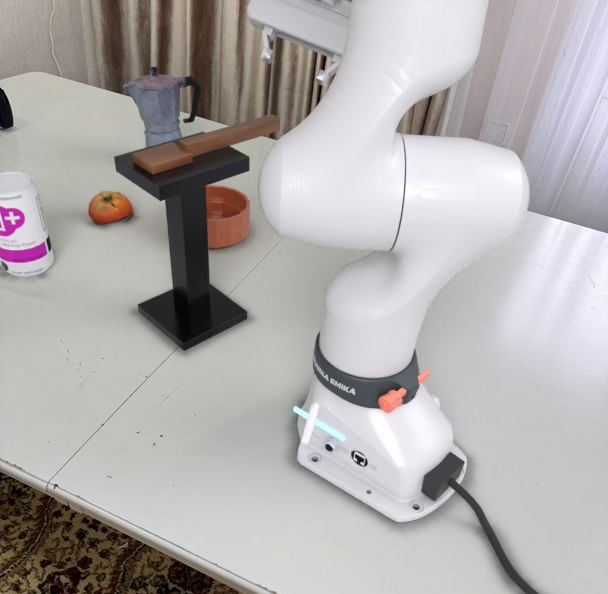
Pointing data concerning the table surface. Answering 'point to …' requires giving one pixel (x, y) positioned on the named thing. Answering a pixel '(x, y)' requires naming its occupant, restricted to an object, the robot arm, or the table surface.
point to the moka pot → (161, 104)
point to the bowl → (226, 216)
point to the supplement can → (23, 227)
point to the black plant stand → (188, 245)
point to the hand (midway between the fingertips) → (292, 72)
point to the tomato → (109, 207)
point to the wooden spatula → (203, 144)
